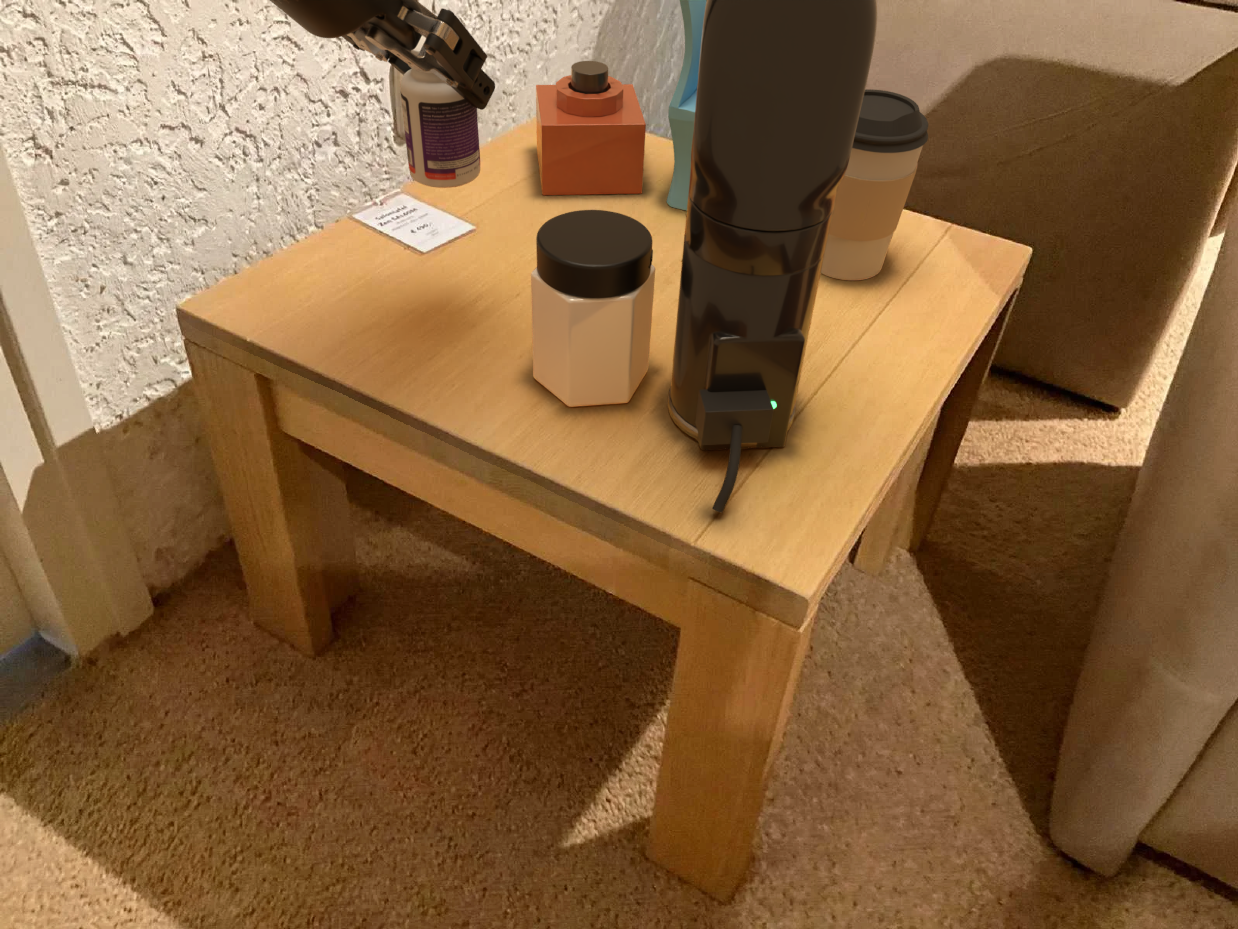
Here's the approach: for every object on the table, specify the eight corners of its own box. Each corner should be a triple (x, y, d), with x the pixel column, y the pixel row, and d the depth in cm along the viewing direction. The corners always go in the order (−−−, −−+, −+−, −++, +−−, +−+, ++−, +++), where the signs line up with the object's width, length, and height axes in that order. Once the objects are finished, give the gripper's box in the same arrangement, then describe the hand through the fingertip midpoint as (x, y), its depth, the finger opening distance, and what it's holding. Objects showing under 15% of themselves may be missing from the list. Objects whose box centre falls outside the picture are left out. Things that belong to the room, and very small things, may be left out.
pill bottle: (495, 170, 77) (489, 40, 70) (450, 196, 73) (440, 62, 67) (440, 152, 79) (429, 24, 72) (394, 177, 75) (379, 44, 69)
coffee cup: (775, 256, 92) (801, 94, 82) (837, 227, 97) (869, 70, 87) (853, 298, 87) (890, 131, 77) (914, 265, 92) (957, 104, 82)
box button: (609, 96, 97) (610, 74, 95) (572, 96, 96) (572, 74, 95) (605, 82, 99) (606, 60, 98) (569, 82, 99) (569, 60, 97)
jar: (669, 384, 77) (681, 245, 69) (585, 424, 73) (588, 281, 65) (597, 331, 82) (600, 195, 74) (515, 365, 78) (509, 226, 70)
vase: (661, 204, 99) (677, -10, 85) (688, 173, 104) (707, -34, 91) (737, 222, 97) (765, 5, 83) (761, 188, 102) (791, -20, 89)
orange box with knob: (641, 193, 100) (647, 105, 94) (542, 195, 99) (541, 106, 93) (629, 150, 108) (633, 66, 102) (536, 151, 107) (535, 66, 101)
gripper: (410, -100, 55) (554, 64, 70) (246, -142, 61) (411, 17, 76) (348, 24, 55) (505, 161, 70) (192, -31, 61) (367, 105, 76)
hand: (456, 85), depth 73 cm, fingers closed on pill bottle, 5 cm apart
